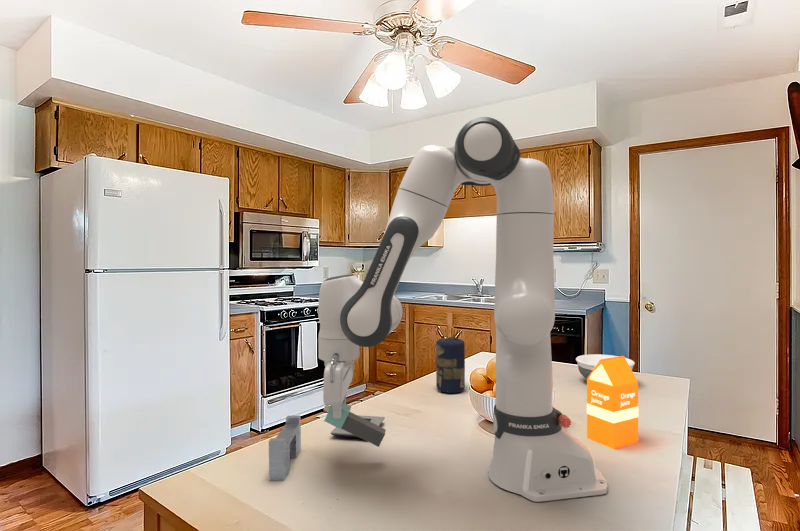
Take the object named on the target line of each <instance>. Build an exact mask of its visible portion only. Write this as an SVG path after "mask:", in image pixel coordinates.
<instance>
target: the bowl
mask: <svg viewBox="0 0 800 531" xmlns="http://www.w3.org/2000/svg"><path fill="white" fill-rule="evenodd" d="M613 357H619V355H618V356H617V355H614V354H613V355H612V354H600V353H598V354H596V353H595V354H593V353H591V354H582V355H579V356H577V357H576V358H575V361H576V362H577V367H578V371H579V373H580V375H581V376H582V377H583V378H585V380H587V378H588V377H589V375H590V374H591V372H592V371H593V369H594V368H595V366H596V365H597V363H598V362H599V360H600V359H607V358H613ZM625 359H626V361H627V363H628V365H629V366H630V368H631V370H632V371H633V368H634V366H635V364H636V363H635V361H634V360H633V359H630V358H627V357H625Z"/></svg>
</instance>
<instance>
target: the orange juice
mask: <svg viewBox="0 0 800 531" xmlns="http://www.w3.org/2000/svg"><path fill="white" fill-rule="evenodd" d="M618 356H619V355H618ZM625 358H626V357H625V355H621V356H619V357H613V358H607V359H600V360H599V362H598V363H597V365H596V366H595V368H594V369H593V371H592V372H591V374H590V375H589V377H588V378H587V379H586V418H587V419H586V438H587V439H588V440H591V441H594V442H596V443H598V444H601V445H602V446H605V447H607V448H610V449H613V450H615V449H618V448H623V447H626V446H628V445H632V444H635V443H639V381H638V379H637V378H636V376H635V374H634V372H633V369H632V370H631V368H630V366H629V365H628V363H627V361H626V359H625Z"/></svg>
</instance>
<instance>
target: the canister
mask: <svg viewBox="0 0 800 531" xmlns="http://www.w3.org/2000/svg"><path fill="white" fill-rule="evenodd" d="M465 344H466V343H465V341H464V340H463V339H460V338H458V337H454V336H449V337H446V338H440V339H438V340H437V341H436V344H435V350H436V351H435V353H436V356H435V357H436V358H435V359H436V360H435V365H436V373H435V376H436V378H435V379H436V380H435V383H436V389H437V390H438V391H440V392H441V393H442V392H443V393H448V394H450V393H451V394H452V393H453V394H456V393H461V392H463V391H464V390H465V388H466V387H465V386H466V385H465V384H466V382H465V380H466V378H465V377H466V376H465V375H466V374H465V372H466V371H465V370H466V369H465V368H466V367H465V366H466V364H465V363H466V362H465V361H466V358H465V357H466V356H465V355H466V354H465V353H466V352H465V351H466V350H465V349H466V348H465V347H466V345H465Z"/></svg>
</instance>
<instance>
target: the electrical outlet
mask: <svg viewBox="0 0 800 531" xmlns="http://www.w3.org/2000/svg"><path fill="white" fill-rule="evenodd" d="M356 415H357V416H360V417H362V418H364V419H366V420H368V421H370V422H372V423H374V424H376V425H378V426H380V427H381V424H382V423H383V421H384V420H386V419H385V416H374V415H361V414H359V415H358V414H356ZM330 435H332V436H335V437H345V438H346V437H347V438H358V437H357V436H355V435H353V434H351V433H349V432H347V431H345V430H343V429H339V428H337V427H334V429H333V430H332V431H331V432H330Z"/></svg>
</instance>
